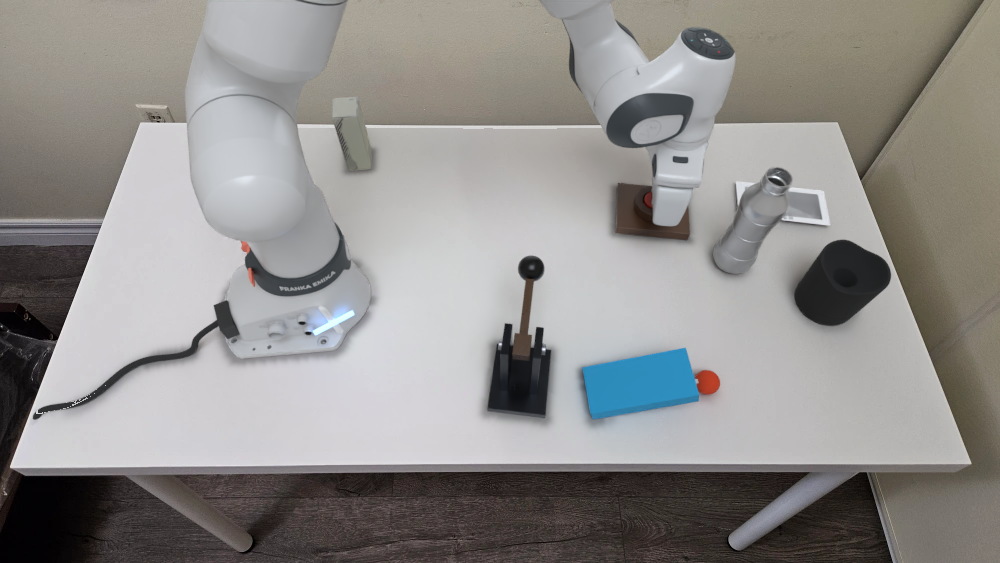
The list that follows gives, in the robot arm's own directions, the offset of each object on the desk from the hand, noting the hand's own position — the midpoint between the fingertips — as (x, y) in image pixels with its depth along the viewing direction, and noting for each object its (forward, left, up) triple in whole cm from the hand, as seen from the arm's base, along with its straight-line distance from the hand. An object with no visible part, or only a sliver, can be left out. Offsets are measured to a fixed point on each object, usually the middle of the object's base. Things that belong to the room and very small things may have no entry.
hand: (656, 199), depth 96 cm
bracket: (-31, -23, -4) cm, 39 cm away
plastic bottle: (+8, -13, -4) cm, 16 cm away
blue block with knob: (-14, -30, -4) cm, 33 cm away
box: (-46, +27, -4) cm, 54 cm away
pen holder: (+18, -24, -4) cm, 30 cm away
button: (0, 0, -2) cm, 2 cm away
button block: (0, 0, -4) cm, 4 cm away
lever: (-29, -18, +6) cm, 34 cm away
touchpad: (+22, -5, -4) cm, 23 cm away
